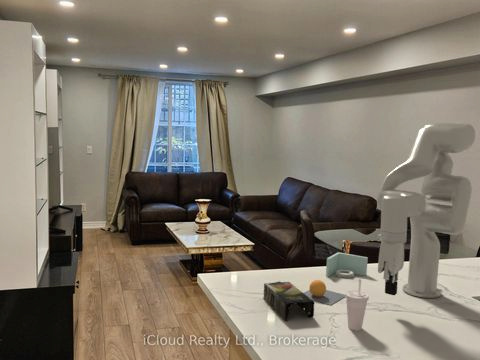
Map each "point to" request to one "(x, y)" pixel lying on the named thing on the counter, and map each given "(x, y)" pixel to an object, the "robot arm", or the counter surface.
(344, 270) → the right angle wall
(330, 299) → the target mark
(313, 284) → the ball
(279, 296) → the juice carton
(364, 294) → the smoothie
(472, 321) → the counter surface
